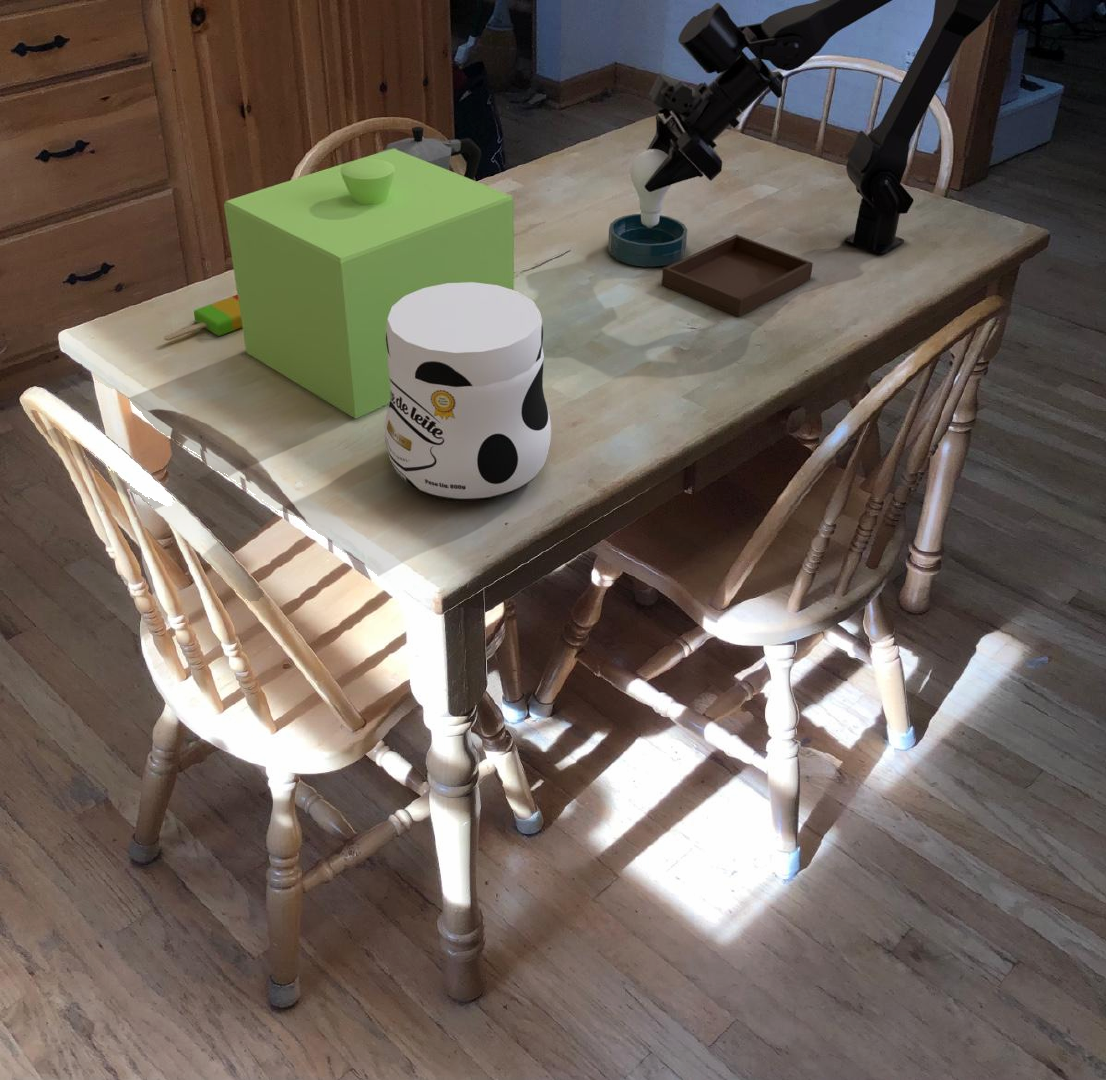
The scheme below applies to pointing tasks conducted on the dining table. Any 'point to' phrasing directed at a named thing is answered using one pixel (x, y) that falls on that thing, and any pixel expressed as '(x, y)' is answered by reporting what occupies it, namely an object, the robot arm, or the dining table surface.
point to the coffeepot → (439, 150)
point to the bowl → (647, 241)
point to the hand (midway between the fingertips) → (642, 180)
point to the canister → (357, 264)
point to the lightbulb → (640, 175)
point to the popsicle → (215, 318)
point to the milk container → (466, 391)
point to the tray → (737, 274)
